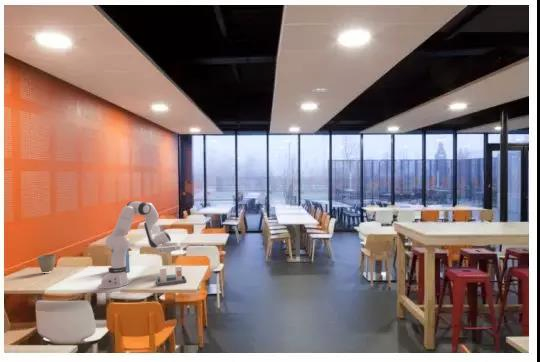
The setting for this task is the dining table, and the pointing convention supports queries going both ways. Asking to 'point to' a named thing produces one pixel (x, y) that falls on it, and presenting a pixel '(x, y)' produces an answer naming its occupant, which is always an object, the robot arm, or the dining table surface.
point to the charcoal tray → (171, 281)
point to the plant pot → (46, 262)
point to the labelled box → (178, 272)
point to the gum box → (126, 259)
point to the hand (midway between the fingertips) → (169, 250)
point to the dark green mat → (168, 276)
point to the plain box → (163, 275)
